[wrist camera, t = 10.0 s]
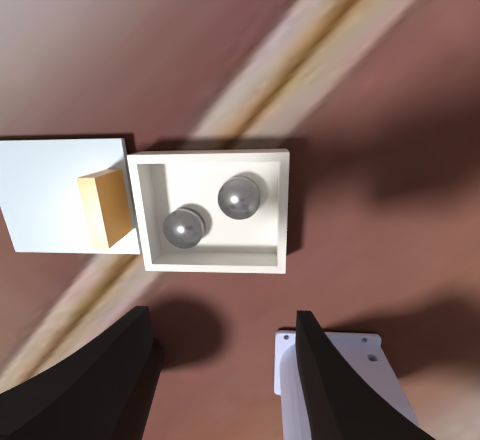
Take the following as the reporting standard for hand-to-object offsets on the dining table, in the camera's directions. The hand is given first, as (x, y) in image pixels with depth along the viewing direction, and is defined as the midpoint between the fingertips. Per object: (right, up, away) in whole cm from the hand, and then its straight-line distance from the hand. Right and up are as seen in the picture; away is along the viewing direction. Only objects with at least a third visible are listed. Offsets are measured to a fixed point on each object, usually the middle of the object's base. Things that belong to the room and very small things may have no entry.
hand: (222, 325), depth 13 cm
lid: (-13, +7, +10) cm, 18 cm away
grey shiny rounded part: (-4, +5, +9) cm, 11 cm away
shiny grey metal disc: (+1, +7, +8) cm, 11 cm away
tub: (-1, +6, +9) cm, 11 cm away
